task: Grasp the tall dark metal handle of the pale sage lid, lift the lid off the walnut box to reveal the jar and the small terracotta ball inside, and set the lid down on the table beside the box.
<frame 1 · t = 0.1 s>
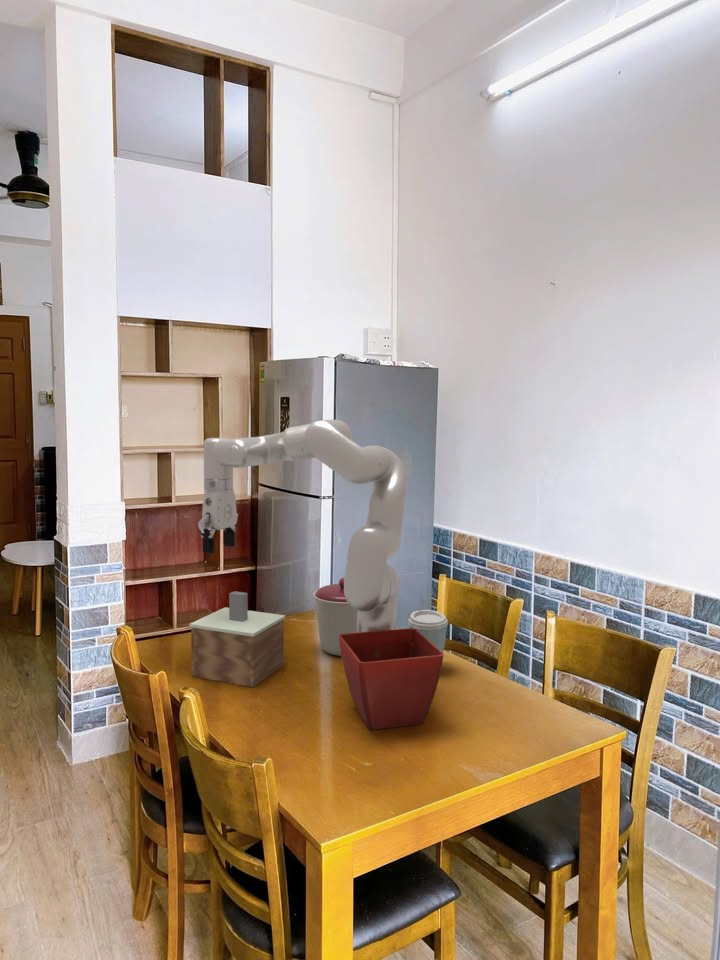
hand: (219, 549, 191), 31 cm above the table, tool pointing down, fingers open, 9 cm apart
canister: (344, 651, 206), on the table
disposable coffee cup: (426, 670, 192), on the table
ball: (213, 673, 187), resting in box
box: (238, 670, 189), on the table
lid: (238, 622, 188), point 13 cm above the table, touching box
plant pot: (387, 716, 163), on the table
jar: (250, 672, 189), resting in box
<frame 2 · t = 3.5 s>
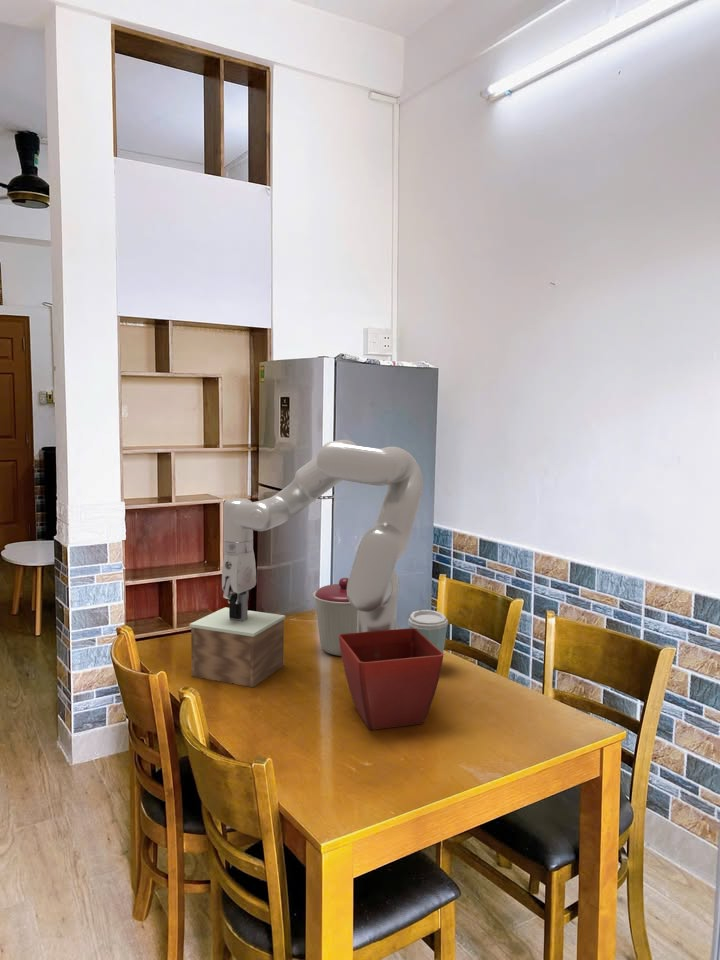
hand: (238, 616, 187), 15 cm above the table, tool pointing down, fingers closed on lid, 2 cm apart
lid: (238, 622, 188), point 13 cm above the table, touching box, gripper
everything else where it was.
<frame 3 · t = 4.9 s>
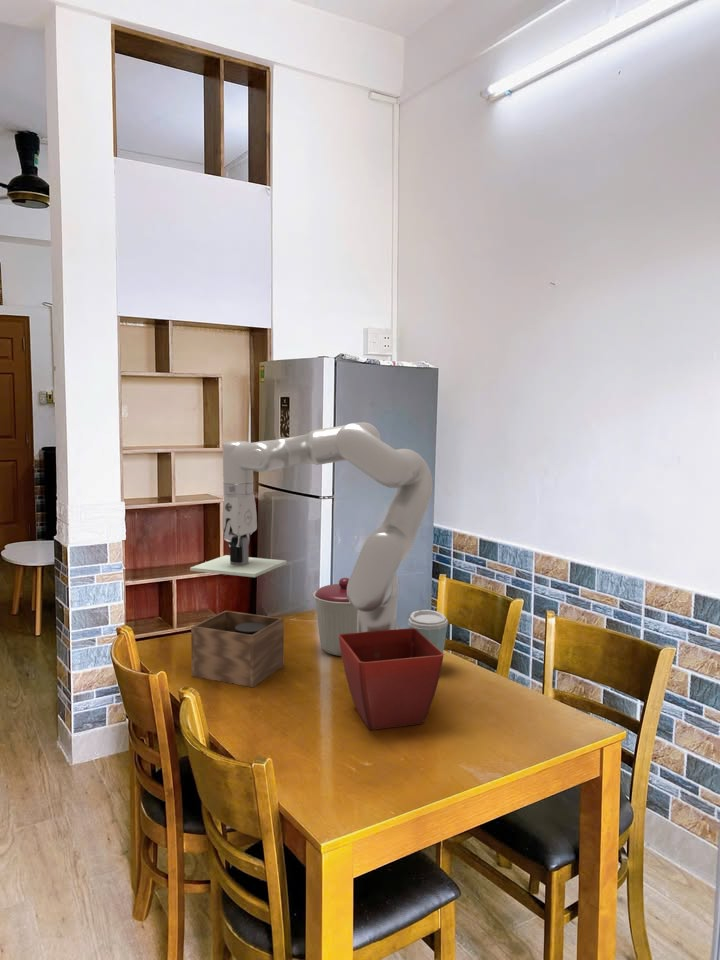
hand: (239, 560, 186), 30 cm above the table, tool pointing down, fingers closed on lid, 2 cm apart
lid: (239, 567, 186), point 28 cm above the table, touching gripper
everything else where it was.
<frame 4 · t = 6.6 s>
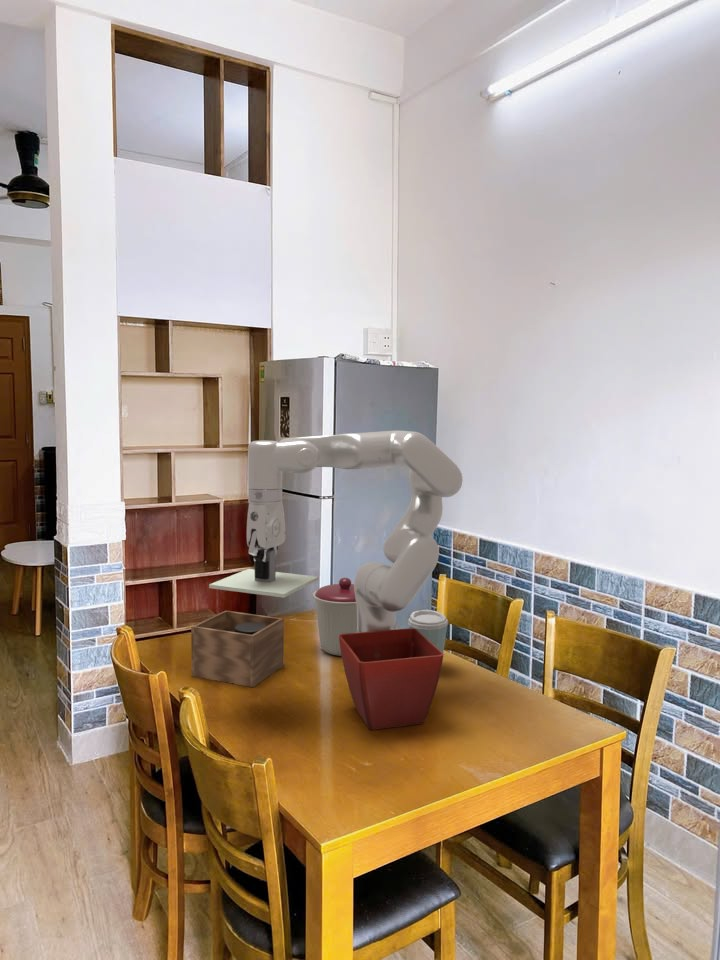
hand: (265, 576, 163), 31 cm above the table, tool pointing down, fingers closed on lid, 2 cm apart
lid: (265, 583, 163), point 29 cm above the table, touching gripper
everything else where it was.
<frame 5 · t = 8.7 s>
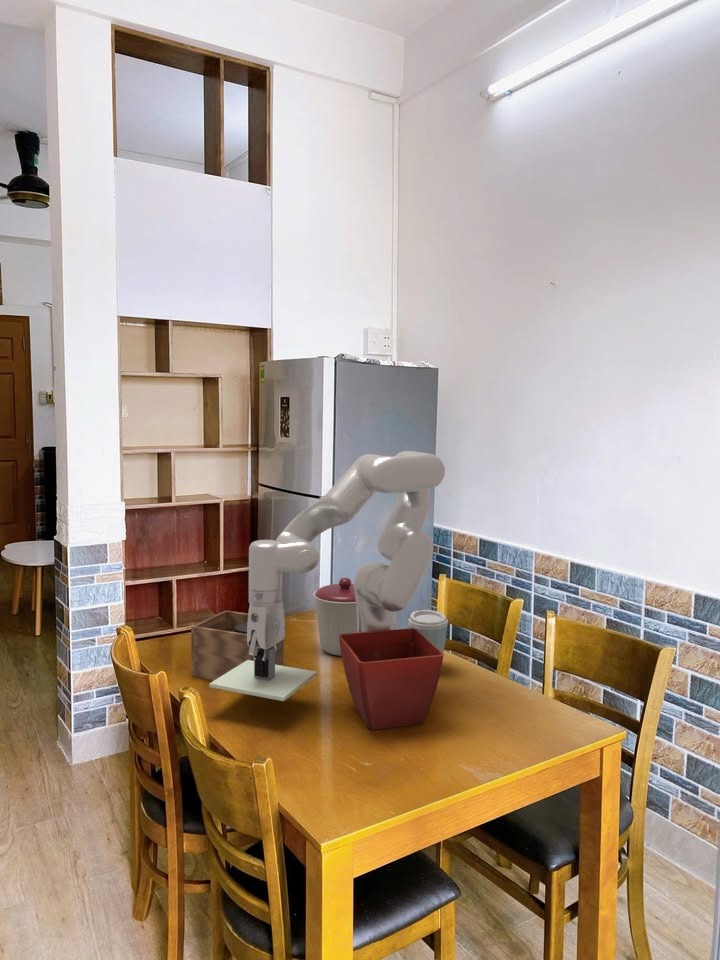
hand: (264, 673, 165), 8 cm above the table, tool pointing down, fingers closed on lid, 2 cm apart
lid: (264, 680, 165), point 7 cm above the table, touching gripper
everything else where it was.
when the fingers open (3 cm above the table, at t = 10.1 s): lid drops 2 cm, on the table.
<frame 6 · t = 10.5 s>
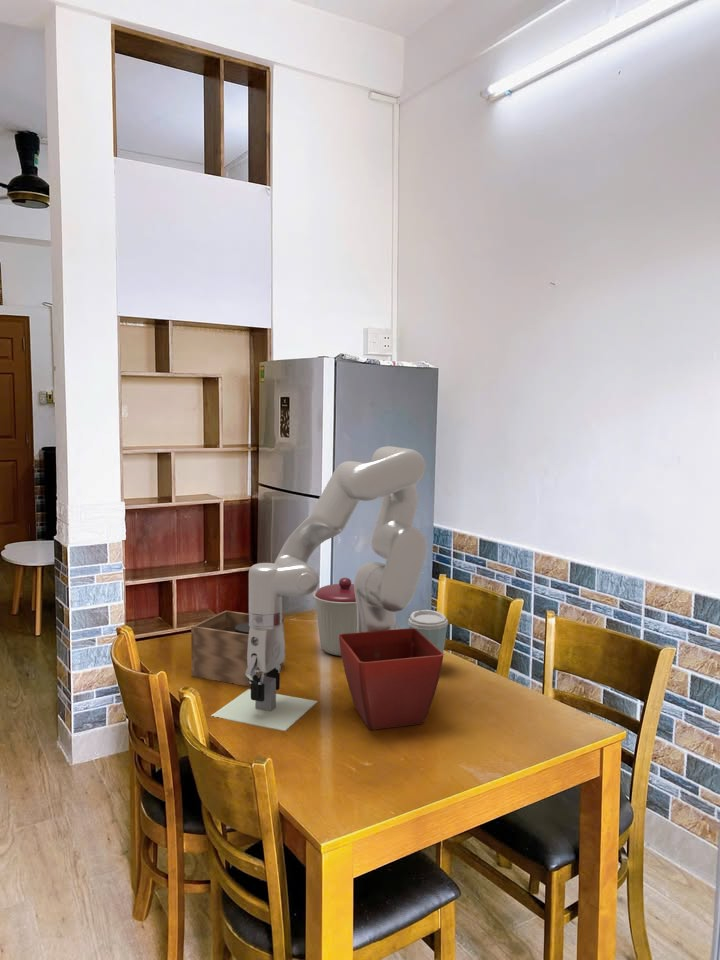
hand: (265, 693, 165), 4 cm above the table, tool pointing down, fingers open, 6 cm apart
lid: (265, 711, 166), on the table
everything else where it was.
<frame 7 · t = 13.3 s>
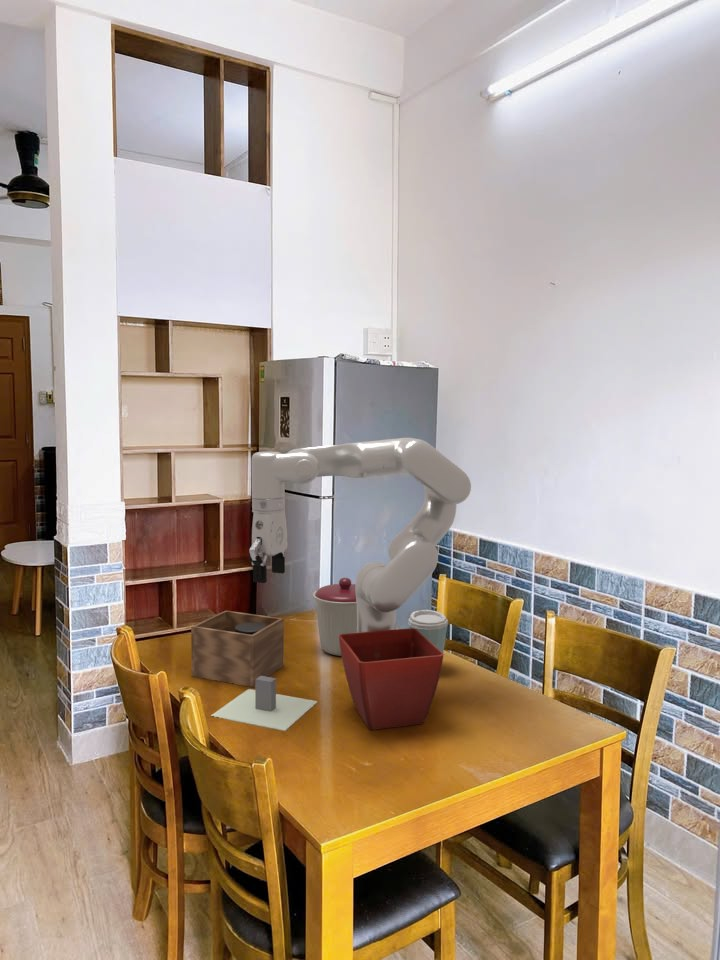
hand: (269, 577, 169), 29 cm above the table, tool pointing down, fingers open, 9 cm apart
nothing on the table moved.
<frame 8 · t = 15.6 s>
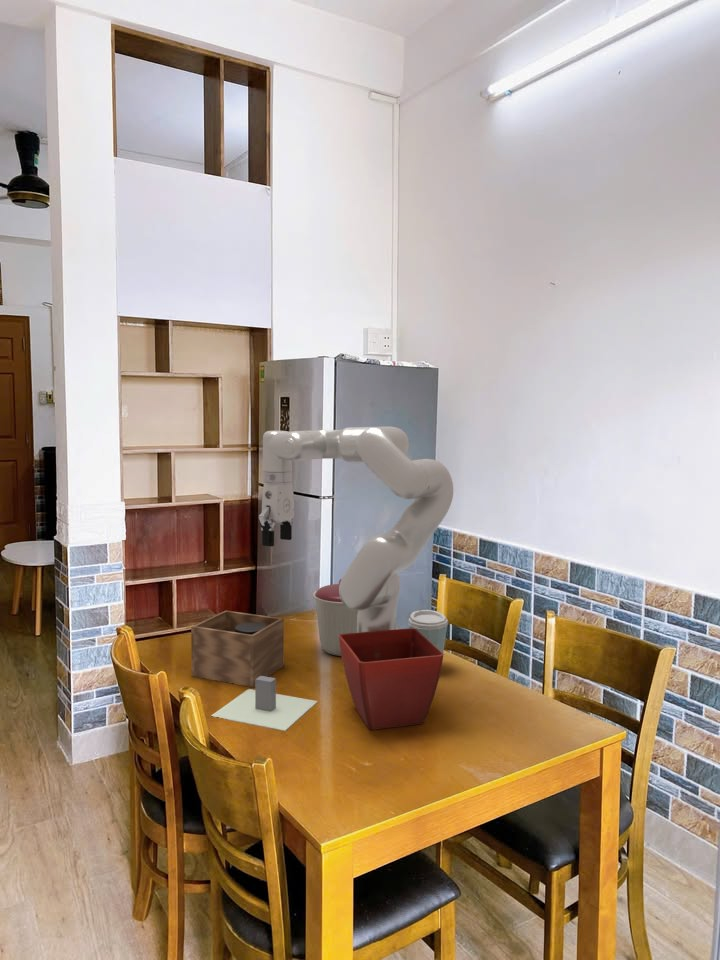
hand: (277, 542, 190), 33 cm above the table, tool pointing down, fingers open, 9 cm apart
nothing on the table moved.
at the end: lid inside the target area (0.1 cm from its centre), on the table; lid touching table; lid tilted 0° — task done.
